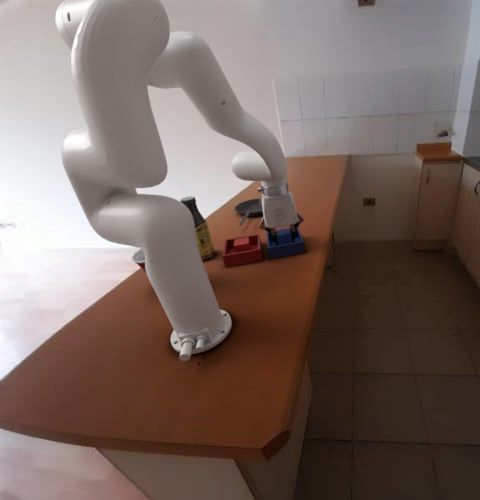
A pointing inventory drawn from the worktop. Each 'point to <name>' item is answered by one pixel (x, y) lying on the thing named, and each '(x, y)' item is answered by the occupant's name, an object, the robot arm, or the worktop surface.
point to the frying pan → (249, 209)
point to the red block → (242, 245)
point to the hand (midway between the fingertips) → (285, 242)
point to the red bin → (242, 257)
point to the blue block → (284, 236)
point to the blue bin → (285, 246)
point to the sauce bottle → (200, 229)
